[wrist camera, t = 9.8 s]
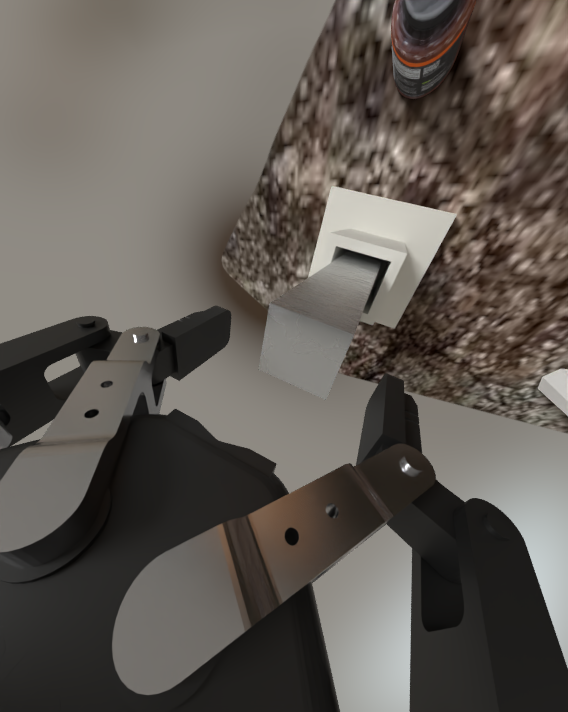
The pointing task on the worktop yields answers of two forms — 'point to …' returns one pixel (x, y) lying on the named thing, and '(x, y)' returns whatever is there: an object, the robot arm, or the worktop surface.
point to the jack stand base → (382, 245)
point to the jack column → (317, 323)
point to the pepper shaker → (556, 388)
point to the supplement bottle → (426, 42)
